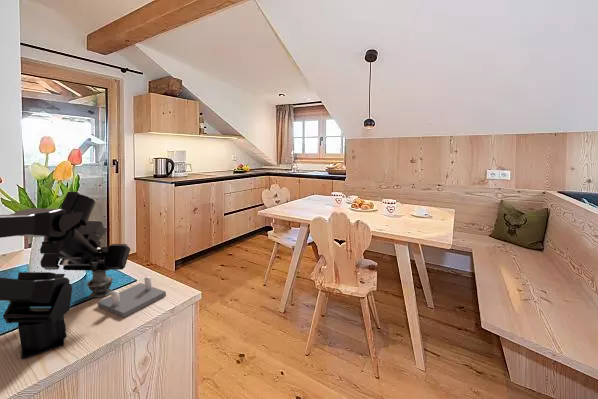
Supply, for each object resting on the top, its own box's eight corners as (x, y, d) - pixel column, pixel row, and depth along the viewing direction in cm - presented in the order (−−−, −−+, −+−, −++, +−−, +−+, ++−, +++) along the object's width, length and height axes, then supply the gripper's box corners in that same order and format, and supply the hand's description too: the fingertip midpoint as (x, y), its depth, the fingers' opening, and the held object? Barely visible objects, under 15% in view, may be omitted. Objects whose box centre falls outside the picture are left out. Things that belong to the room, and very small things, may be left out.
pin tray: (123, 317, 71) (122, 299, 70) (98, 306, 75) (96, 289, 74) (165, 295, 81) (165, 279, 80) (141, 286, 86) (140, 271, 85)
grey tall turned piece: (118, 289, 84) (115, 248, 81) (103, 300, 78) (99, 256, 76) (99, 287, 84) (95, 247, 82) (82, 298, 78) (77, 255, 76)
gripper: (124, 214, 74) (145, 242, 87) (43, 212, 72) (76, 241, 85) (109, 256, 67) (134, 279, 80) (20, 256, 66) (60, 279, 78)
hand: (102, 268), depth 81 cm, fingers closed on grey tall turned piece, 4 cm apart
